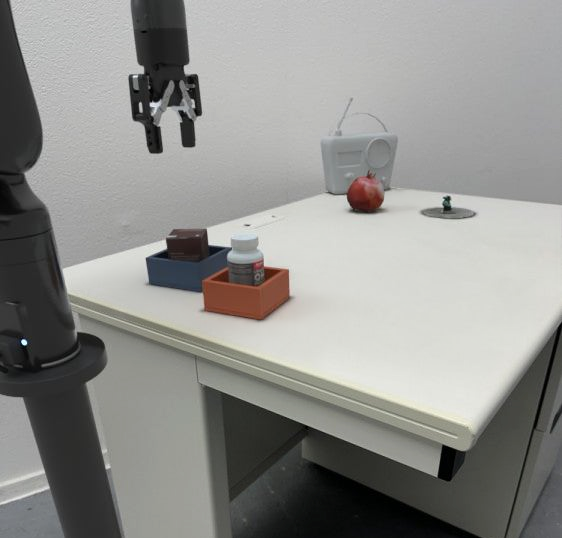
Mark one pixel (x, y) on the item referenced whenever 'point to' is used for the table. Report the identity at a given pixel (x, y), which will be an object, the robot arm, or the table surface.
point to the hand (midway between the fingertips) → (173, 150)
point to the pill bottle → (245, 260)
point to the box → (188, 245)
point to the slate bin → (185, 269)
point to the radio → (357, 156)
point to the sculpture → (448, 210)
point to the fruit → (365, 193)
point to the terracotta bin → (246, 294)
